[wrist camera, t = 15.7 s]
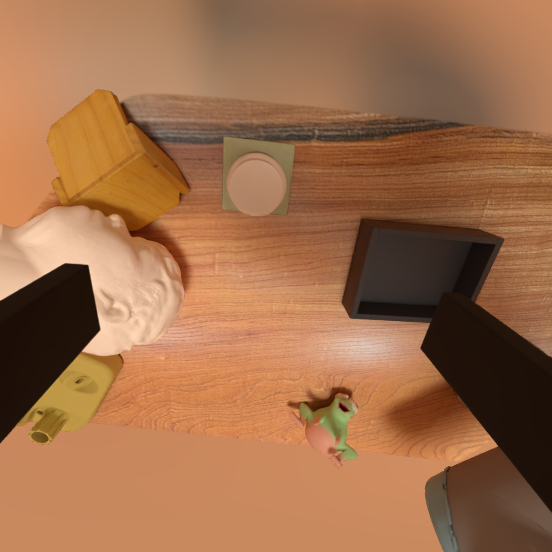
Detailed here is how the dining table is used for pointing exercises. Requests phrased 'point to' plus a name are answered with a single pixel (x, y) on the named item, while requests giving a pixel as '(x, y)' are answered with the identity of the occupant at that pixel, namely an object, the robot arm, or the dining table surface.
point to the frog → (329, 428)
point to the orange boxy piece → (112, 164)
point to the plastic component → (73, 396)
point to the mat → (240, 147)
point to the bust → (98, 272)
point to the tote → (414, 269)
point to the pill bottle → (256, 184)
